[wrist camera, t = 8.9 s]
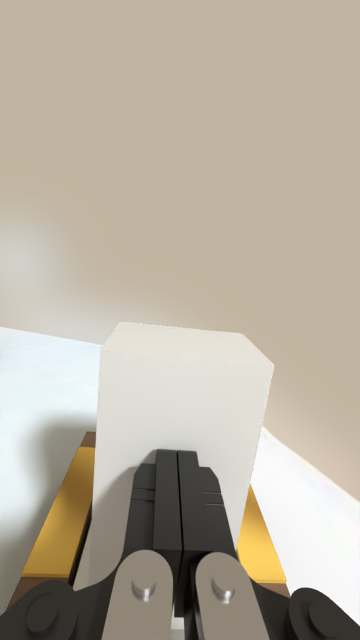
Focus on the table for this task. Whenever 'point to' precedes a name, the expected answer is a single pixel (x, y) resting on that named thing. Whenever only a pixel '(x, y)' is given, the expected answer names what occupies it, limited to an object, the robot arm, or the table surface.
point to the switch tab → (171, 424)
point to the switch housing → (76, 516)
